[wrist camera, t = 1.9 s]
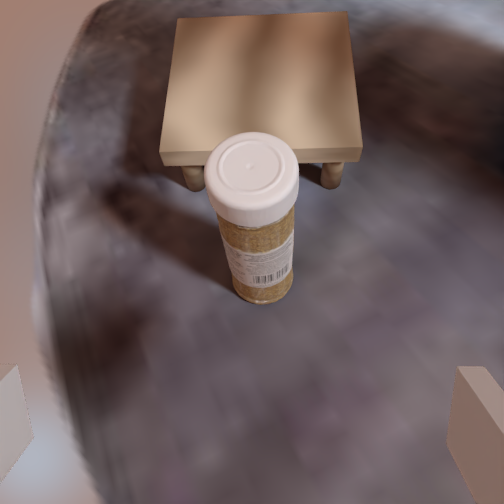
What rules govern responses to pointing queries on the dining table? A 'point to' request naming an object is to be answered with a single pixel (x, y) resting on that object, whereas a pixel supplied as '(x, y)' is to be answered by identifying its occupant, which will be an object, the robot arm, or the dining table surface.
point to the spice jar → (255, 211)
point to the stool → (262, 89)
